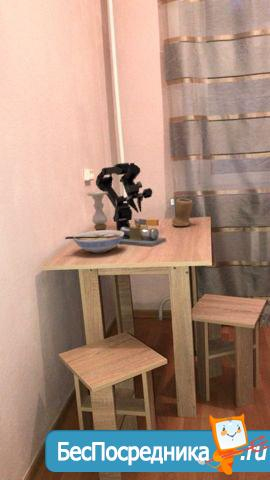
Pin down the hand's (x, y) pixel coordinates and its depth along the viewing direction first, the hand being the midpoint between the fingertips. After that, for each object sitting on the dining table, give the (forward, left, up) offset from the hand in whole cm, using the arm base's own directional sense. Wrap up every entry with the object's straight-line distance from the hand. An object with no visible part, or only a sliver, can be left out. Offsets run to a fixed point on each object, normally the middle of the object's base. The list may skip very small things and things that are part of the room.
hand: (139, 212), depth 210 cm
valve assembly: (+3, -12, -13) cm, 18 cm away
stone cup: (+14, +32, -13) cm, 37 cm away
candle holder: (-18, -8, -13) cm, 24 cm away
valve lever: (+7, -13, -4) cm, 15 cm away
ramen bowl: (-9, -30, -13) cm, 34 cm away
